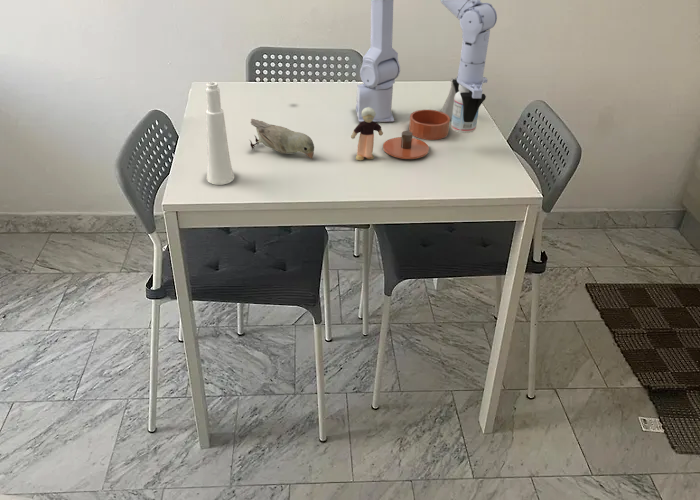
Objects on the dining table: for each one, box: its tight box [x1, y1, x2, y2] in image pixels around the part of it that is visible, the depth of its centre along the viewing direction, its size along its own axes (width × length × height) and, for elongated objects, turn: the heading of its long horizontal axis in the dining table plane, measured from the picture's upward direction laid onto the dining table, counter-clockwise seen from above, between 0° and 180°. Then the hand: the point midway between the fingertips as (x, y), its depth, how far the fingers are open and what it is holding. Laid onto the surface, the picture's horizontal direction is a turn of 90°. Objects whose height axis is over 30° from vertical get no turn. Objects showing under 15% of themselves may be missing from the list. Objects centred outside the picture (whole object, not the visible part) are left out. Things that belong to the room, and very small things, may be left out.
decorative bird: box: [249, 118, 315, 159], centre depth 158 cm, size 5×16×8 cm, turn 71°
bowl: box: [408, 109, 451, 141], centre depth 172 cm, size 10×10×4 cm
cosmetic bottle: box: [205, 81, 235, 186], centre depth 142 cm, size 6×6×22 cm
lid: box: [382, 130, 430, 160], centre depth 162 cm, size 11×11×5 cm
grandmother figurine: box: [350, 107, 384, 161], centre depth 156 cm, size 8×4×13 cm, turn 117°
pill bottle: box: [450, 84, 480, 134], centre depth 158 cm, size 6×6×11 cm
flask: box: [440, 77, 457, 120], centre depth 179 cm, size 7×7×10 cm
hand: (464, 115), depth 160 cm, fingers closed on pill bottle, 6 cm apart
